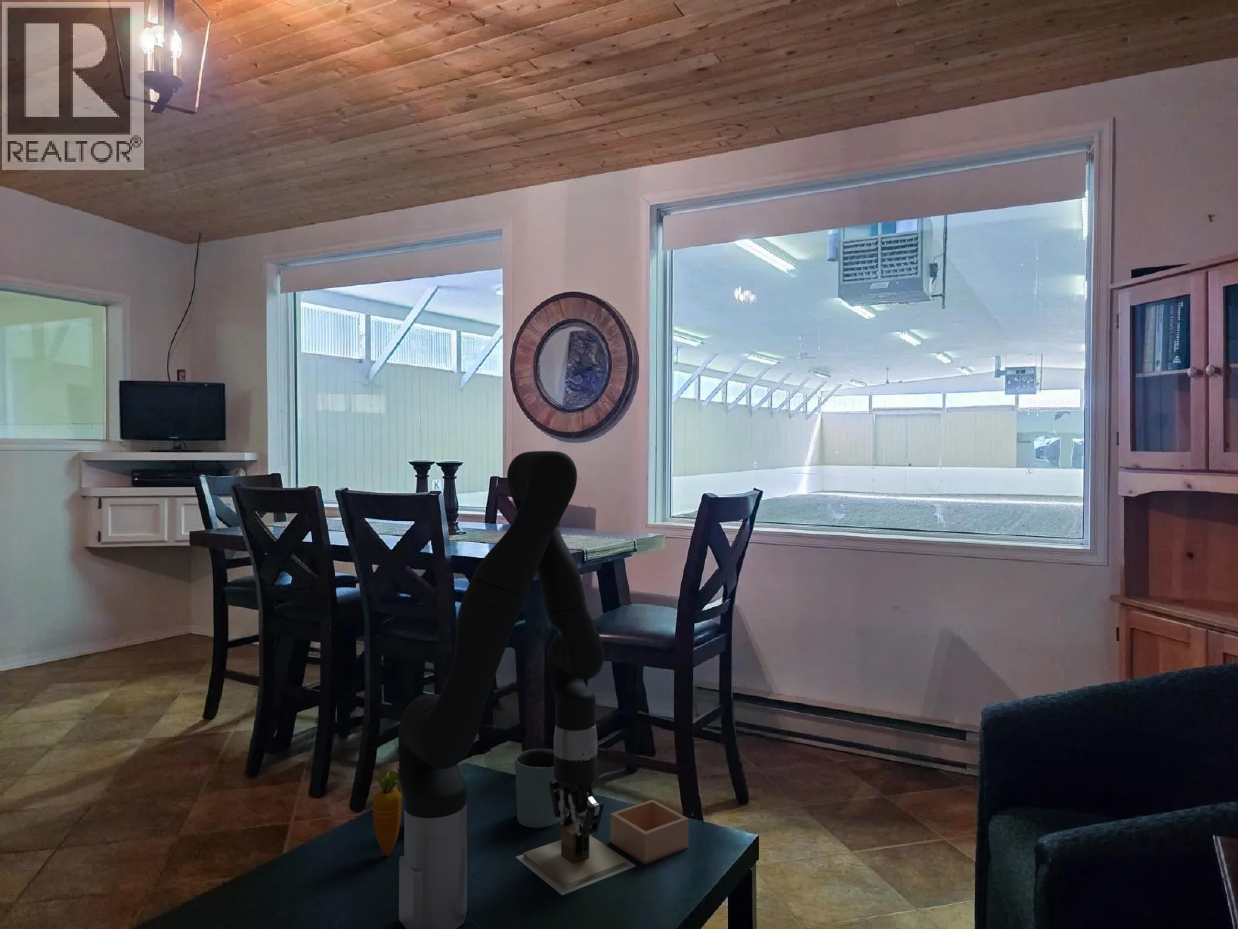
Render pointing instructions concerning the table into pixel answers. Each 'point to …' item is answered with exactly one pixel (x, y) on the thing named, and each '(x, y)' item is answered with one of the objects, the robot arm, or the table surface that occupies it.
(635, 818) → the open square box
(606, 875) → the tray
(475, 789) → the table surface
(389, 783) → the carrot
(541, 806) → the grey cup
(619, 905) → the table surface
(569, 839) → the lid
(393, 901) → the table surface
